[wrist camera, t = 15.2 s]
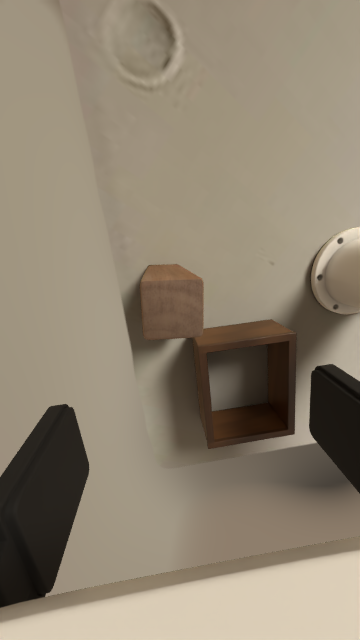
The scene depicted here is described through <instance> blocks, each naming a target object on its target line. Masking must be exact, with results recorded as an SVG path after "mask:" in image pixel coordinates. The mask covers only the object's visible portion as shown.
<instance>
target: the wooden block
mask: <svg viewBox="0 0 360 640" xmlns="http://www.w3.org/2000/svg"><path fill="white" fill-rule="evenodd" d="M140 298H141V313H142V327H143V336H144V338H145V339H147V340H158V339H175V338H192V337H200V336H202V334H203V280H202V278H200V277H198V276H196V275H195V274H193V273H191V272H190V271H188V270H186V269H185V268H183V267H181V266H180V265H177V264H173V265H149V266H148V267H147V269H146V271H145V273H144V276H143V278H142V280H141V282H140Z"/></svg>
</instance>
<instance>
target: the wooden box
mask: <svg viewBox="0 0 360 640" xmlns="http://www.w3.org/2000/svg"><path fill="white" fill-rule="evenodd" d="M296 336H297V333H296V332H294V331H293V332H292V331H291V330H289V329H287V328H286V327H284V326H282V325H280V324H279V323H277V322H275V321H274V320H272V319H271V320H263V321H256V322H249V323H242V324H235V325H228V326H221V327H214V328H207V329H203V334H202V336H200V337H192V342H193V351H194V360H195V370H196V379H197V388H198V397H199V407H200V416H201V421H202V424H203V428H204V432H205V435H206V439H207V445H208V449H211V448H217V447H223V446H229V445H235V444H240V443H246V442H252V441H258V440H264V439H270V438H275V437H281V436H287V435H293V434H294V433H295V387H296ZM264 344H267V352H268V403H262V404H256V405H250V406H244V407H238V408H231V409H225V410H219V411H213V412H212V407H211V397H210V386H209V375H208V364H207V353H210V352H216V351H223V350H230V349H237V348H244V347H250V346H257V345H264Z"/></svg>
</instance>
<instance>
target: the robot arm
mask: <svg viewBox="0 0 360 640" xmlns="http://www.w3.org/2000/svg"><path fill="white" fill-rule="evenodd" d="M311 286H312V290H313V293H314V296H315V297H316V299H317V301H318V302H319V303H320V304H321V305H322V306H323V307H325V308H326V309H327V310H330V311H332V312H335V313H339V314H354V313H358V312H360V227H357V228H350V229H347V230H344V231H342V232H340V233H338V234H336V235H335V236H334V237H332V238H331V239H330V240H329V241H328V242H327V243H326V244H325V245H324V246H323V247H322V248H321V250H320V252H319V253H318V255H317V257H316V259H315V261H314V264H313V268H312V272H311ZM309 429H310V432H311V435H312V436H313V438H314V439H315V440H316V441H317V443H318V444H319V445H320V446H321V447H322V449H323V450H324V451H325V452H326V453H327V455H328V456H329V457H330V458H331V459H332V460H333V462H334V463H335V464H336V465H337V467H338V468H339V469H340V470H341V471H342V473H343V474H344V475H345V476H346V478H347V479H348V480H349V481H350V482H351V484H352V485H353V486H354V487H355V488H356V489H357V491H358V492H359V493H360V381H358V380H356V379H355V378H353V377H352V376H350V375H349V374H347V373H346V372H344V371H343V370H341V369H340V368H338V367H336V366H335V365H333V364H329V365H322V366H317V367H316V368H315V370H314V371H312V373H311V394H310V420H309ZM88 474H89V462H88V459H87V455H86V451H85V448H84V444H83V441H82V437H81V434H80V430H79V426H78V423H77V419H76V416H75V412H74V409H73V408H72V407H69V406H68V405H67V404H63V405H56V406H51V407H49V408H48V409H47V411H46V412H45V414H44V415H43V417H42V418H41V419H40V421H39V422H38V424H37V425H36V427H35V428H34V429H33V431H32V432H31V434H30V435H29V437H28V438H27V439H26V441H25V443H24V444H23V445H22V447H21V448H20V450H19V451H18V452H17V454H16V455H15V457H14V458H13V460H12V461H11V462H10V464H9V465H8V467H7V468H6V470H5V471H4V473H3V474H2V475H1V477H0V640H360V536H358V537H353V538H347V539H341V540H336V541H330V542H325V543H319V544H314V545H308V546H303V547H298V548H292V549H287V550H282V551H276V552H271V553H266V554H260V555H255V556H250V557H244V558H239V559H234V560H229V561H223V562H218V563H213V564H208V565H202V566H197V567H192V568H186V569H181V570H176V571H171V572H166V573H161V574H156V575H151V576H145V577H140V578H136V579H131V580H125V581H120V582H115V583H110V584H105V585H100V586H94V587H89V588H85V589H80V590H75V591H71V592H66V593H62V594H57V595H52V596H48V597H45V595H46V593H49V592H50V591H51V590H52V588H53V586H54V583H55V580H56V577H57V573H58V570H59V567H60V564H61V561H62V557H63V554H64V551H65V548H66V544H67V541H68V538H69V535H70V532H71V528H72V525H73V522H74V519H75V516H76V512H77V509H78V506H79V503H80V500H81V496H82V493H83V490H84V487H85V483H86V480H87V477H88Z"/></svg>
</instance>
